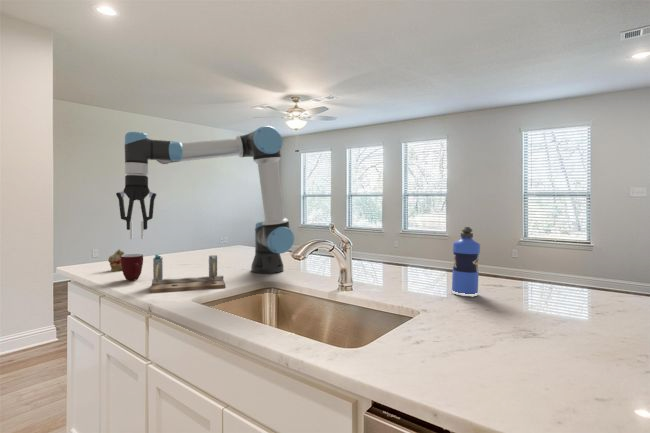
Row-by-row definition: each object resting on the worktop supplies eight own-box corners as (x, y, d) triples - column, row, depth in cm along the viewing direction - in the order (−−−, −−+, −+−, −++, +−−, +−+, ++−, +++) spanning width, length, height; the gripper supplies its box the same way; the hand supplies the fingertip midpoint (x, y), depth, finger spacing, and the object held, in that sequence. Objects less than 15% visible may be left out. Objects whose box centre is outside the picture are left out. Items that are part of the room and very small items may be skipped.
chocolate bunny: (113, 269, 169) (113, 247, 169) (130, 268, 170) (130, 247, 170) (107, 271, 164) (107, 249, 163) (125, 271, 165) (125, 249, 164)
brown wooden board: (222, 280, 149) (222, 274, 149) (225, 287, 138) (225, 280, 138) (153, 285, 140) (153, 278, 140) (150, 292, 129) (150, 285, 129)
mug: (150, 280, 148) (150, 256, 147) (129, 283, 141) (129, 258, 141) (137, 276, 154) (137, 253, 153) (117, 279, 148) (117, 255, 147)
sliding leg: (162, 277, 140) (162, 254, 139) (161, 282, 133) (161, 257, 132) (154, 278, 139) (153, 254, 138) (152, 282, 132) (152, 257, 131)
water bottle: (478, 292, 137) (481, 226, 136) (477, 298, 129) (480, 228, 128) (452, 289, 141) (454, 225, 140) (450, 295, 133) (452, 227, 131)
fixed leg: (216, 274, 147) (216, 255, 147) (218, 278, 140) (218, 258, 139) (208, 275, 146) (208, 255, 146) (209, 279, 139) (210, 258, 138)
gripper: (161, 176, 140) (161, 237, 141) (113, 174, 134) (114, 237, 135) (159, 175, 133) (160, 239, 134) (109, 173, 127) (110, 240, 128)
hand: (137, 238), depth 135 cm, fingers open, 3 cm apart
